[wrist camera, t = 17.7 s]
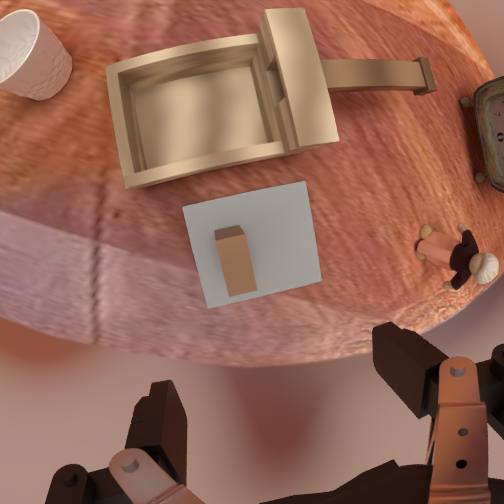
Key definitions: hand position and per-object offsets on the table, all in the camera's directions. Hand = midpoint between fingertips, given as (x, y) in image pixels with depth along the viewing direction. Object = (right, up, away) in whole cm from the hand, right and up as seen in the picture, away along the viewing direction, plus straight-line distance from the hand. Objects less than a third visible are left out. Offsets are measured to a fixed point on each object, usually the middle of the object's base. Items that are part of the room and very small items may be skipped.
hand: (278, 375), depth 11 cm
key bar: (+9, +20, +12) cm, 25 cm away
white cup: (-24, +25, +15) cm, 38 cm away
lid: (-1, +6, +22) cm, 23 cm away
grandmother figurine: (+21, +5, +25) cm, 33 cm away
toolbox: (-5, +18, +18) cm, 26 cm away
